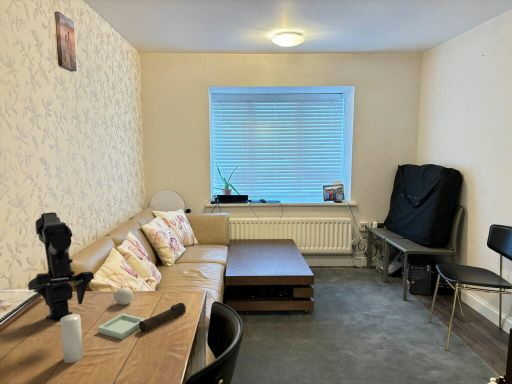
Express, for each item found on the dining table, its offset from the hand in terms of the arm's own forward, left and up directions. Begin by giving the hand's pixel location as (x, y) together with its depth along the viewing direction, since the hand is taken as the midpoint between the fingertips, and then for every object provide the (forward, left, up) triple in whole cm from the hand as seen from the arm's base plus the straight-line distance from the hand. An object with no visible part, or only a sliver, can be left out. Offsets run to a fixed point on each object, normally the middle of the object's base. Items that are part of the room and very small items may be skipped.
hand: (66, 306), depth 111 cm
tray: (+9, +14, -12) cm, 21 cm away
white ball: (-6, +29, -13) cm, 32 cm away
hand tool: (+18, +24, -13) cm, 33 cm away
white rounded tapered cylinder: (+9, -5, -12) cm, 16 cm away
